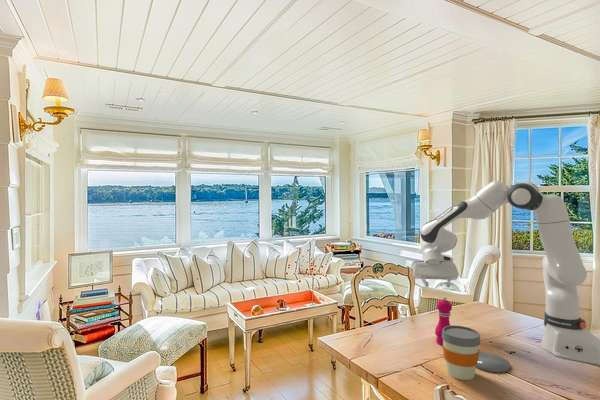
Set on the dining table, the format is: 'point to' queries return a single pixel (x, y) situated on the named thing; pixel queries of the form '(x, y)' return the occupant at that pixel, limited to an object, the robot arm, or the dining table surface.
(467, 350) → the reusable coffee cup
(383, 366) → the dining table surface
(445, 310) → the pepper mill
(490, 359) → the plate
